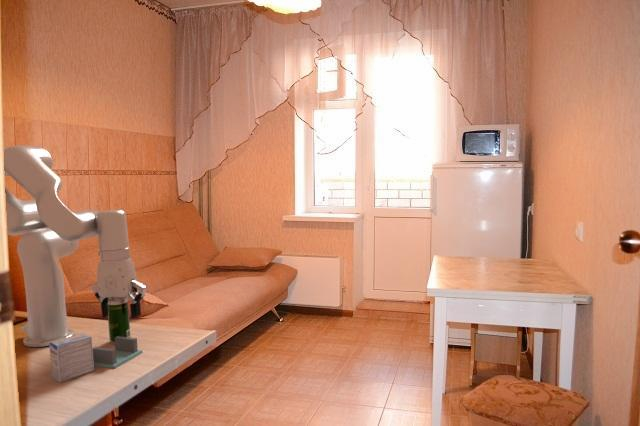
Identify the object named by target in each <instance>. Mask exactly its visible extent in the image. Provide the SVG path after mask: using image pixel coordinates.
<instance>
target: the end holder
mask: <svg viewBox="0 0 640 426" xmlns="http://www.w3.org/2000/svg"><path fill="white" fill-rule="evenodd" d="M114 339H115V344H114V348H110V347H109V348H108V347H100V346H99V347H98V346H95V347H92V348H93V362H94V367H101V368H111V369H116V368H118V367H120V366H122V365H123V364H126V363H127V362H129V361H131V360H133V359H134V358H135V357H138V356H140V354H142V353H143V350H141V349H138V339H137V337H131V336H130V337H119V336H117V337H115V338H114Z"/></svg>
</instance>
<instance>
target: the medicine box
mask: <svg viewBox="0 0 640 426" xmlns="http://www.w3.org/2000/svg"><path fill="white" fill-rule="evenodd" d="M48 347H49V356H50V358H49V359H50V369H51V377H52V379H54V380H55V381H57V382H58V383H61V384H62V383H63V382H66V381H69V380H72V379H75V378H77V377H79V376H80V377H81V376H83V375H85V374H89V373H92V372H94V371H95V366H94V362H93V348H94V347H93V337H92V336H91V335H89V334H86V333H84V332H81V333H78V334H74V336H70V337H67V338H63V339H60V340H56V341H53V342H50V343H49V346H48Z"/></svg>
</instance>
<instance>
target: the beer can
mask: <svg viewBox="0 0 640 426" xmlns="http://www.w3.org/2000/svg"><path fill="white" fill-rule="evenodd" d="M129 308H130V307H129V299H128V297H125V298H109V299H108V303H107V311H108V316H107V323H108V324H107V325H108V336H109V341H110V343H111V344H112V345H115V339H114V338H115V337H117V336H119V337H130V338H131V326H130V310H129Z"/></svg>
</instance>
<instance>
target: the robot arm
mask: <svg viewBox="0 0 640 426" xmlns="http://www.w3.org/2000/svg"><path fill="white" fill-rule="evenodd" d="M3 147H4V171H5V176H4V177H11V178H12V179H13V180H14V182H15V183H17V184H18V185H20V187H21V188H22V189H23V190H25V192H26V193H28V194H29V195H30V196H31V197H32V198H33V199H27V200H24V199H23V200H22V199H19V198H18V197H16V196H15V195H14V194H13V193H12V192H10V190H9V188H7V187H5V186H4V187H5V193H6V211H7V227H8V234H7V235H8V236H21V237H20V239H18V243H17V246H16V247H17V254H18V258H19V261H20V264H21V268H22V273H23V280H24V281H23V282H24V288H25V300H26V301H25V302H26V311H27V312H26V313H27V322H26V323H25V324H24V326H22V327H21V328H20V331H21V332H25V333H26V336H25V337H24V338H23V340H22V342H23V345H24V346H26V347H30V348H42V347H50V346H49V343H50V342H53V341H56V340H60V339H63V338H67V337H70V336H74V335H75V332H74V330H73V329H71V328H68V318H67V317H68V316H67V307H66V293H65V279H64V275H63V274H64V273H63V270H62V268H61V266H60V265H59V262H58V260H59V259H63V258H66V257H69V256H70V255H73V254H74V253H75V252H76V251H77V249H78V247H79V243H80V241H83V240H86V239H91V238H96V237H97V238H98V239H97V240H98V248H99V251H98V252H97V255H98V256H99V257H100V258H99V259H100V261H98V264H97V268H96V269H97V271H96V278H97V283H95V284H94V285H93V286H91V289H92V291H93V293H94V296H95V298H96V299H97V300H98V301H97V302H98V303H100V308H101V316H102V317H103V318H106V317H108V311H107V303H108V299H109V298H125V297H127V300H128V301H129V302H131V303H130V304H129V308H130V317H131V319H135V318H138V317H140V316H141V315H142V312H141V311H142V309H141V301H143V299H144V297H145V293H146V291H147V286H146V285H144V284H143V283H141V282H139V281H138V278H137V272H136V268H135V264H134V261H133V259H132V258H131V253H130V244H129V243H130V241H129V233H128V224H127V223H128V222H127V221H128V220H127V214H126V212H125V211H124V210H121V209H109V210H96V209H95V210H94V209H93V210H92V209H91V210H90V209H88V210H81V211H76V212H73V211H72V210H71V209H69V207H67V206H66V205H65V204H64V203H63V202H62V201H61V200H60V198H59V197H58V193H59V192H60V190H61V189H62V187H63V181H62V180H63V179H61V178H60V177H59V176H58V175H57V174H56V173H55V172H54V171H53V170H52V168H53V165H54V161H53V157H52V156H51V154H50V153H49V151H48V150H46V149H45V148H44V147H41V146H36V145H22V144H21V145H20V144H19V145H11V146H3Z"/></svg>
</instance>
